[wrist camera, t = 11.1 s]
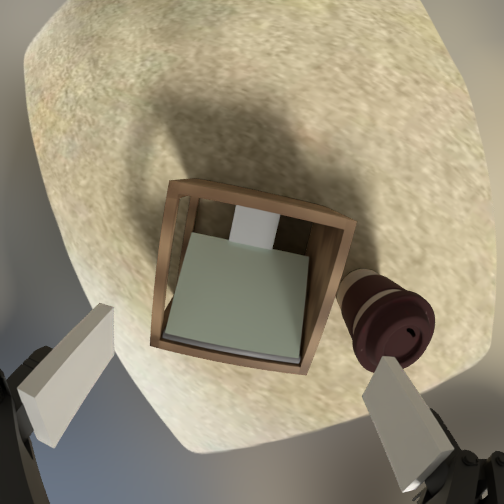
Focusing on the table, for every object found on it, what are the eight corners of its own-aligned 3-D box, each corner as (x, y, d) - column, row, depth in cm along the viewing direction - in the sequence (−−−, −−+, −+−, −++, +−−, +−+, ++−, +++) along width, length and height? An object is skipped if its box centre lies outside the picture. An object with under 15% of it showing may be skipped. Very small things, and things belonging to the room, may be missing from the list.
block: (231, 233, 38) (239, 195, 37) (269, 240, 39) (277, 203, 37) (228, 241, 34) (237, 197, 32) (271, 250, 34) (281, 207, 33)
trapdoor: (190, 236, 35) (190, 231, 34) (308, 260, 36) (310, 257, 35) (163, 338, 29) (161, 337, 28) (297, 364, 30) (299, 363, 29)
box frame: (195, 178, 37) (169, 180, 25) (324, 206, 38) (357, 221, 25) (176, 299, 41) (149, 345, 29) (292, 322, 42) (306, 375, 30)
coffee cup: (333, 329, 42) (364, 394, 28) (321, 269, 40) (355, 321, 25) (392, 309, 42) (440, 363, 27) (385, 250, 39) (443, 288, 25)
